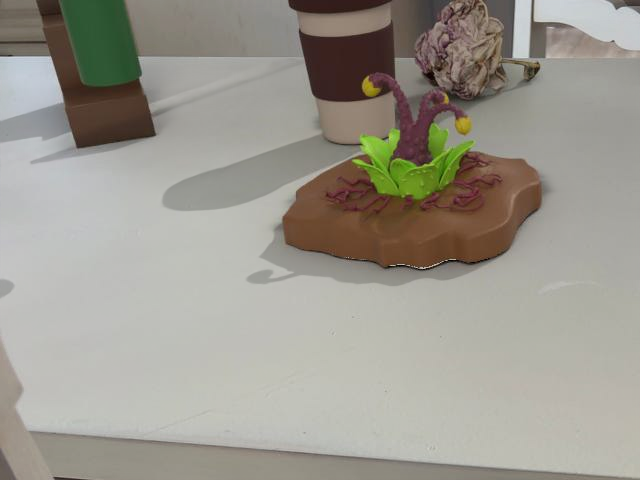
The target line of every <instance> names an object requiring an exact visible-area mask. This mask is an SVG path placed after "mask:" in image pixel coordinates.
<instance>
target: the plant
mask: <svg viewBox="0 0 640 480" xmlns="http://www.w3.org/2000/svg"><path fill="white" fill-rule="evenodd" d="M383 83H387V84H388V86H389V88H390V89H392V91H393V96H394V99H395V101H396V103H395V105H396V106H395V107H397V110H398V113H397V118H398V120H399V124H398V129H397V128H395V129H391V131H390V133H389V136H388V142H386V141H385V140H384V139H379V138H377V137H373V136H366V135H363V134H362V135H361V136H360V142H361V143H362V144H361V145H360V146H359V148H360V149H361V151H362V152H363V154H359V155H356V156H353V157H350V158H349V159H346V160H344V161H343V162H341V163H339V164H337V165H335V166H333V167H331V168H329V169H327V170H325V171H323V172H321V173H320V174H318V175H316V177H314V178H313V179H311V180H309V181H308V182H306V183H305V184H304V185H302V186H300V187H299V188H297V189H296V191H295V201H294V202H293V203H292V204H291V205H290V207H289V208H288V210H287V211H286V212H285V213H284V215H283V216H281V222H282V229H283V235H284V242H285V244H286V243H287V244H286V245H290V246H293V247H295V248H297V249H299V248H300V250H303V249H304V250H303V251H308V250H313V251H312V252H317V251H322V252H321V253H324V252H326V253H325V254H327V253H329V254H328V255H330V254H333V255H335V256H339V257H338V258H340V257H347V258H348V257H349V258H354V259H364V260H365V259H366V260H371V261H375V262H377V263H376V264H378V263H379V264H378V265H379V266H381V265H382V266H383V267H382V266H381V267H382V268H385V267H387V266H390V265H397V264H405V265H410V266H413V267H414V266H415V267H418V268H420V267H423V268H424V267H429V266H432V265H434V264H437V263H440V262H442V261H445V260H449V259H456V260H460V261H459V262H461V261H463V262H462V263H464V262H467V263H466V264H469V263H470V262H476V263H478V262H477V261H480V260H483V261H485V260H484V259H487V260H489V259H488V258H490V259H492V258H495V257H497V256H499V255H501V254H503V253H504V252H506V251H507V250H509V248H510V247H511V246H512V244H513V242H514V240H515V238H516V234H517V231H518V228H519V227H520V226H521V224H522V223H523V222H524V221H525V220H526V218H527V217H528V216H529V215H530V214H531V213H533V212H534V211H536V210H538V209H539V208H540V207H541V205H542V202H543V193H542V192H543V191H542V190H543V189H542V188H543V187H542V181H541V180H540V179H539V178H540V177H539V173H538V171H537V169H536V168H534V167H533V166H532V165H530V164H529V163H528V162H527V161H526V159H524V158H520V157H519V158H518V157H517V158H509V157H500V156H495V155H491V154H488V153H484V152H481V151H476V150H475V151H474V150H473V151H472V150H471V148H472V147H473V146H474V145H475V144H476V140H475V139H474V140H466V141H464V142H461V143H460V144H458V145H457V146H455V147H453V146H449V148H448V149H446V145H447V143H448V142H447V141H448V139H449V137H450V131H449V129H447V128H445V129H442V130H441V129H440V127H439V126H438V125H437V124H436V123H435V118H436V117H437V116H438V115H440V114H441V113H442V112H443V113H445V112H447V111H451V112H452V113H454V117H455V119H454V128H455V130H456V132H457V133H458V134H460V135H463V136H464V137H466V136H467V135H468V134H469V133H470V132H471V131H472V127H473V123H472V120H471V118H470V117H469V115H468V114H467V113H466V112H465V111H464V110H463V109H461V108H460V107H457V105H456V104H452V103H451V102H450V99H449V96H448V95H447V93H443V91H440V89H434V88H433V89H432V90H429V91H428V92H427V93H426V94H425V95H424V96H422V100H421V101H420V102H419V108H418V114H417V119H416V120H414V117H413V112H412V111H411V109H410V108H411V106H410V103H409V102H408V97H407V95H406V94H405V92H404V90H402V88H401V85H400V84H398V80H395V79H393V78H392V77H390V76H389V75H387V74H383V73H378V72H376V73H375V74H370V75H369V76H367V77H366V78H365V79H364V81H363V83H362V89H363V92H364V93H365V95H366V96H369V97H374V96H376V95H377V94H378V93H379V92H380V91H381V87H382V84H383ZM431 102H432V106H431V108H430V107H429V106H430V104H431ZM314 250H315V251H314ZM502 252H503V253H502ZM498 254H499V255H498ZM333 255H332V256H333ZM335 256H334V257H335ZM494 256H495V257H494ZM371 261H370V262H371ZM375 262H374V263H375ZM480 262H481V261H480ZM470 264H471V263H470ZM387 268H388V267H387Z"/></svg>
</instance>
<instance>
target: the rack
mask: <svg viewBox="0 0 640 480" xmlns="http://www.w3.org/2000/svg"><path fill="white" fill-rule="evenodd" d="M35 3H36V5H37V9H38V12H39V16H40V22H41V29H42V31H43V36H44V38H45V41H46V42H45V43H46V45H47V48H48V51H49V55H50V58H51V61H52V64H53V68H54V70H55V74H56V78H57V81H58V84H59V87H60V91H61V96H62V101H63V106H64V108H63V109H64V112H65V114H66V118H67V120H68V124H69V127H70V130H71V134H72V137H73V140H74V143H75V146H76V149H83V148H89V147H93V146H94V147H95V146H99V145H106V144H112V143H118V142H124V141H129V140H137V139H142V138H147V137H148V138H149V137H153V136H156V135H157V133H156V129H155V125H154V121H153V116H152V113H151V109H150V104H149V101H148V97H147V94H146V92H145V90H144V86H143V84H142V82H141V79H140V77H139V78H138V79H136V80H134V81H131V82H127V83H124V84H119V85H112V86H89V85H85V84H83V83H82V82H81V78H80V75H79V71H78V68H77V64H76V60H75V57H74V53H73V50H72V46H71V43H70V39H69V36H68V32H67V29H66V25H65V22H64V18H63V14H62V11H61V7H60V4H59V0H35Z"/></svg>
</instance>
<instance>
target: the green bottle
mask: <svg viewBox="0 0 640 480" xmlns="http://www.w3.org/2000/svg"><path fill="white" fill-rule="evenodd" d="M59 4H60V7H61V11H62V14H63V18H64V22H65V25H66V29H67V32H68V36H69V39H70V43H71V46H72V50H73V53H74V57H75V60H76V64H77V68H78V71H79V75H80V78H81V82H82V83H83V84H85V85H89V86H112V85H119V84H124V83H127V82H131V81H134V80H136V79H138V78H139V79H140V78H141V77H142V75H143V70H142V67H141V63H140V58H139V55H138V50H137V47H136V46H137V45H136V43H135V38H134V33H133V31H132V27H131V26H132V25H131V22H130V18H129V14H128V9H127V5H126V2H125V0H59Z"/></svg>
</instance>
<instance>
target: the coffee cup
mask: <svg viewBox="0 0 640 480" xmlns="http://www.w3.org/2000/svg"><path fill="white" fill-rule="evenodd" d="M392 1H393V0H287V2H288V3H287V4H288V7H289V8H290V9H291V10H292V11H295V12H296V17H297V20H298V24H299V25H298V26H299V29H298V37H299V41H300V45H301V50H302V54H303V59H304V64H305V68H306V72H307V77H308V82H309V87H310V90H311V94H312V95H313V97H314V98H315V99H314V100H315V104H316V108H317V113H318V117H319V122H320V127H321V131H322V135H323V136H324V138H325V139H326V140H327V141H328V142H329V141H330V142H332V143H335V144H340V145H363V144H362V143H361V142H360V136H361V135H362V134H363V135H366V136H373V137H377V138H379V139H381V140H384V139H386V138H389V133H390V131H391V129H396V109H395V107H396V106H395V97H394V96H393V91H392V89H390V88H389V86H388V84H387V83H383V84H382V87H381V91H380V92H379V93H378V94H377V95H376V96H374V97H369V96H366V95H365V93H364V92H363V89H362V83H363V81H364V79H365V78H366V77H367V76H369V75H370V74H375V73H376V72H378V73H383V74H387V75H389V76H390V77H392V78H393V79H395V80H396V61H395V60H396V58H395V57H396V55H395V54H396V53H395V33H394V22H393V19H392V17H391V3H392ZM396 81H397V80H396Z"/></svg>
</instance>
